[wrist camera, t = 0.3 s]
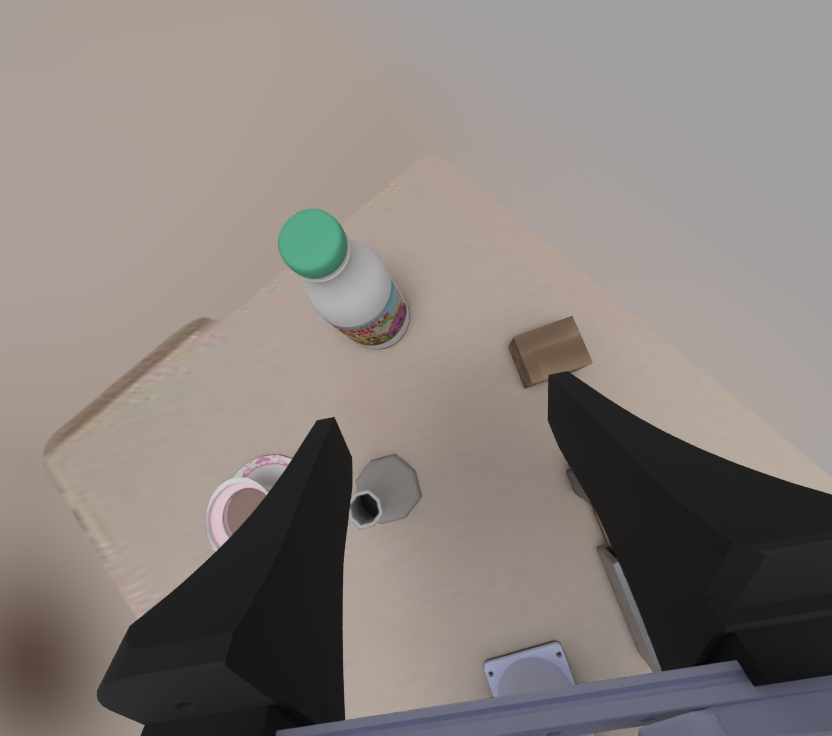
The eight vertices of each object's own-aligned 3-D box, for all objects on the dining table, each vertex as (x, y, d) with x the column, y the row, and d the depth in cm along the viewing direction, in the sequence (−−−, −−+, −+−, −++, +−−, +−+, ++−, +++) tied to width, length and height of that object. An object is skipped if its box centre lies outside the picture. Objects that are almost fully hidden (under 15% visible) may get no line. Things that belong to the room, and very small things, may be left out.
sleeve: (683, 639, 36) (713, 670, 31) (638, 652, 36) (661, 683, 32) (639, 534, 37) (661, 549, 33) (596, 547, 38) (613, 563, 33)
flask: (397, 442, 42) (376, 449, 32) (433, 499, 41) (422, 524, 31) (345, 477, 42) (308, 495, 32) (379, 535, 41) (351, 571, 31)
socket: (577, 370, 40) (592, 362, 35) (524, 388, 41) (532, 384, 36) (559, 328, 41) (572, 315, 36) (508, 346, 42) (513, 336, 37)
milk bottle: (337, 306, 45) (238, 218, 26) (393, 277, 45) (335, 165, 25) (363, 361, 44) (278, 313, 24) (421, 332, 43) (382, 258, 24)
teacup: (220, 465, 45) (181, 472, 39) (313, 444, 44) (288, 448, 37) (233, 570, 43) (194, 594, 37) (331, 551, 42) (307, 573, 35)
